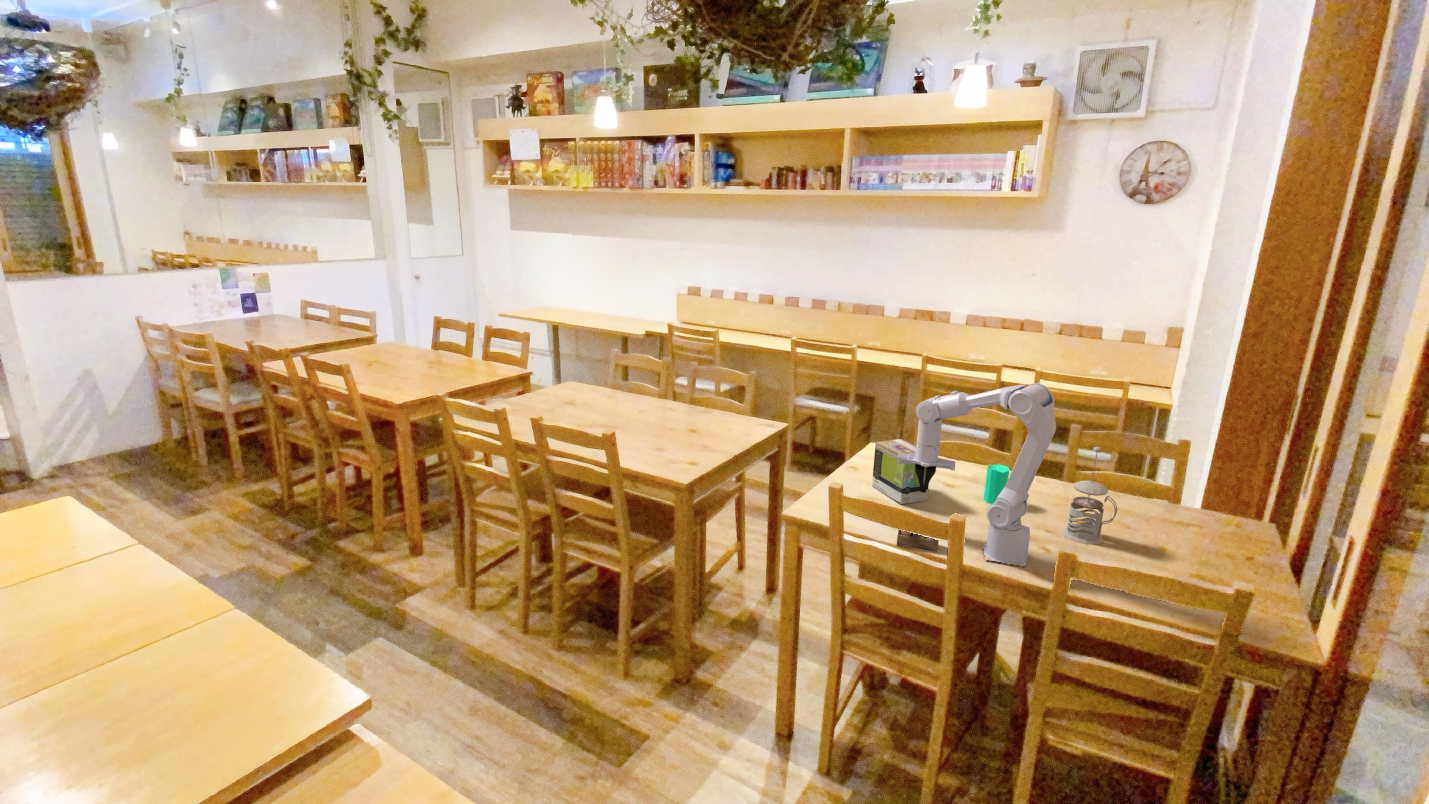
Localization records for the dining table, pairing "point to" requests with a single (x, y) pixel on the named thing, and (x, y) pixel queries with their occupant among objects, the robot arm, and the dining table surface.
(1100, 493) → the french press
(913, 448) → the tea box
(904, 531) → the terracotta plug
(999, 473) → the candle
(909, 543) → the plug block
